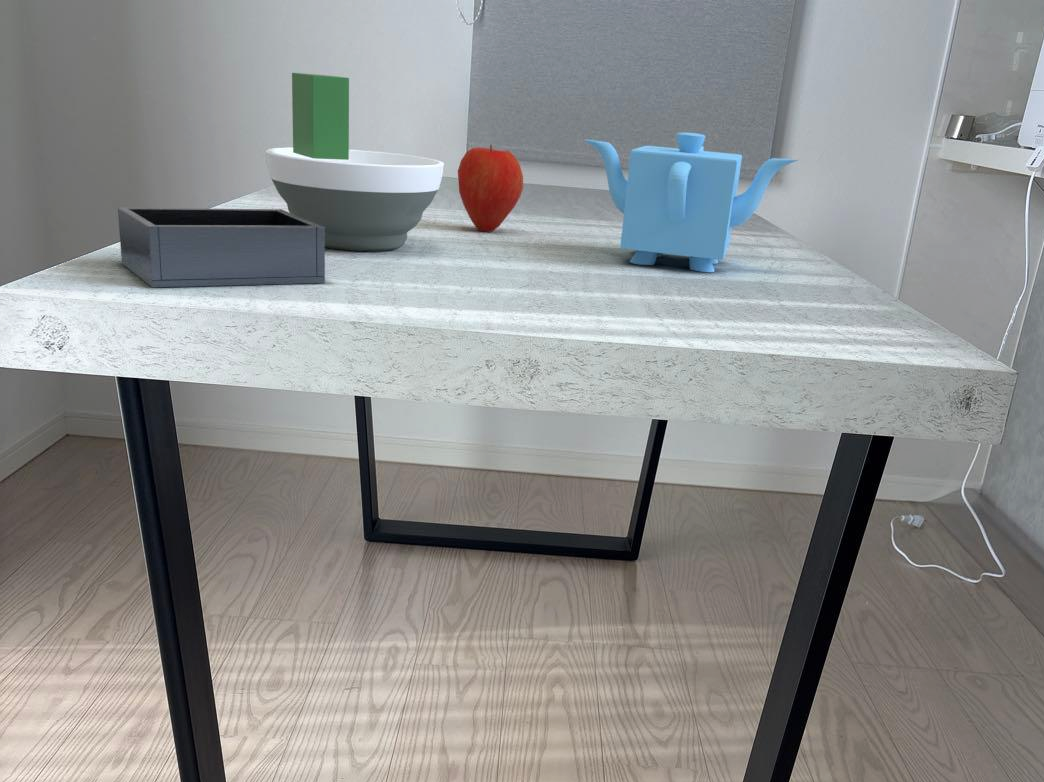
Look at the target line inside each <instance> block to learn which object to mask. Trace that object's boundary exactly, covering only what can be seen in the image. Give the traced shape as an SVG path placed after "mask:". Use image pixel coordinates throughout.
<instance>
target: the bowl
mask: <svg viewBox="0 0 1044 782" xmlns="http://www.w3.org/2000/svg"><path fill="white" fill-rule="evenodd" d="M265 158H266V165H267V169H268V173H269V177H270V179H271V181H272V183H273V185H274V187H275V189H276V191H277V193H278V195H279V196H280V197H281V199H282V200H283V201H284V202H285V204H286V207H287V210H288V212H289V213H291V214H294V215H296V216H299V217H301V218H304V219H306V220H309V221H311V222H314V223H316V224H318V225H321V226H323V227H325V249H326V248H327V249H332V250H338V251H339V250H340V251H350V252H351V251H352V252H384V251H393V250H397V249H399V248H401V247H402V246H404V245H405V244H406V242H407V239H408V233H409V232H410V231H412V230H413V229H414V228H415V227H417V225H418V224H419V223H420V222H421V220H422V218H423V213H424V212H425V211H426V209H428V207H429V206H430V205H431V204H432V202H433V201H434V199H435V196H436V195H437V193H438V191H439V190H440V186H441V183H442V178H443V176H444V165H445V163H444V162H443V161H442V160H438V159H434V158H429V157H425V156H424V157H423V156H418V155H411V154H405V153H404V154H402V153H395V152H394V153H393V152H387V151H386V152H384V151H376V150H375V151H374V150H363V149H361V150H360V149H349V159H348V160H343V159H314V158H310V157H306V156H303V155H299V154H296V153H293V146H291V147H273V148H268V149H266V150H265Z"/></svg>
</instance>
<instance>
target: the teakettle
mask: <svg viewBox="0 0 1044 782" xmlns="http://www.w3.org/2000/svg"><path fill="white" fill-rule="evenodd" d="M676 140H677V141H676V142H677V145H678V148H677V147H666V146H654V145H643V146H640V147H637V148H633V149H631V151H630V154H629V162H628V171H627V172H628V173H627V179H626V178H625V176H624V173H623V171H622V170H623V169H622V166H621V163H620V161H621V160H620V158H619V155H618V152H617V150H616V148H615V147H614V146H613V145H612V143H610V142H608V141H601V140H595V139H584V141H585V142H586V143H588V144H589V145H591V147H593V148H594V149H596V151H597V152H598V153H599V154H600V156H601V160H602V161H603V164H604V169H605V172H606V173H605V174H606V180H607V185H608V190H609V191H608V192H609V194H610V198H611V200H612V202H613V203H614V205H615V207H616V208H617V209H618V210H619V211H620V212H621V213H622V214H623V216H622V217H623V219H622V229H621V237H620V247H619V248H620V249H623V250H631V251H636V252H635V253H634V254H633V256H632V257H631V258H630V260H629V263H631V264H635V265H640V266H641V265H642V266H653V265H655V263H656V261H657V258H660V257H662V254H666V255H676V256H684V257H685V256H686V257H688V258H689V259H688V260H689V270H690V271H695V272H702V273H714V272H716V271H715V268H714V264H719V260H720V261H723V260H724V258H725V256H726V254H727V251H728V249H729V246H730V242H731V235H732V228H735V227H738V226H740V225H742V224H744V223H746V222H747V221H748V220H749V219H750V218H751V217H752V216H753V215H754V213H755V212H756V211H757V209H758V207H759V205H760V203H761V202H762V199H763V197H764V194H765V193H766V190H767V187H768V186H769V184H770V183H771V180H772V178H774V176H775V175H776V174H777V172H779V171H780V170H781V169H782V168H784V167H786V166H788V165H790V164H793V163H795V162H798V161H799V160H798V159H796V158H795V159H793V158H778V157H773V158H769V159H767V160H766V161H765V162H764V163H762V165H761V166H760V167H759V169H758V170H757V172H756V174H755V175H754V178H753V180H752V181H751V183H750V185H749V187H748V188H747V189H746V191H744V192H742V193H740V194H738V187H739V180H740V175H741V166H742V160H743V155H742V154H738V153H729V152H728V153H727V152H720V151H719V152H718V151H708V150H705V147H704V146H703V144H704V142H705V140H706V135H704V134H701V133H696V132H678V133H676ZM737 194H738V195H737Z"/></svg>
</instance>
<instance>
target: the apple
mask: <svg viewBox="0 0 1044 782" xmlns="http://www.w3.org/2000/svg"><path fill="white" fill-rule="evenodd" d="M457 179H458V180H457V181H458V193H459V197H460V198H461V199H460V200H461V202H462V204H463V206H464V209H465V211H466V213H467V215H468V218H469V219H470V221H471V222H472V224H473V226H474V227H475V228H476V229H477V230H478V231H479V232H488V233H490V232H493V231H495V230H496V229H498V228H499V227H500V226H501V225H502V223H503V222H504V221H505V220H506V219H507V217H508V216H509V215H510V213H511V212H512V211H513V210H514V208H515V206H516V205H517V204H518V202H519V200H520V198H521V195H522V192H523V189H524V174H523V171H522V168H521V164H520V162H519V161H518V158H517V157H516V155H514V154H513V153H512V152H511V151H509V150H497V149H493V145H492V144H490V145H489V148H486V147H472V148H471V149H469V150H468V151H466V152H465V153H464V155H463V157H462V158H461V160H460V162H459V166H458V169H457Z"/></svg>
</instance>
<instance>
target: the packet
mask: <svg viewBox="0 0 1044 782" xmlns="http://www.w3.org/2000/svg"><path fill="white" fill-rule="evenodd" d="M291 97H292V99H291V100H292V101H291V103H292V104H291V105H292V106H291V107H292V147H293V153H296V154H299V155H303V156H306V157H310V158H314V159H343V160H348V159H349V150H350V78H349V77H346V76H345V77H344V76H338V75H337V76H336V75H327V74H315V73H301V72H291Z"/></svg>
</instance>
